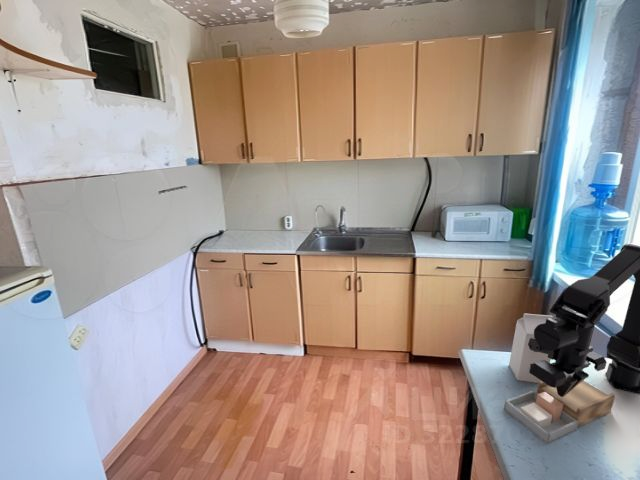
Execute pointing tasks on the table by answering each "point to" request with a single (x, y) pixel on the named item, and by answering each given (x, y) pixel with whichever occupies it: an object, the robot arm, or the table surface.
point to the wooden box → (581, 401)
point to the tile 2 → (550, 405)
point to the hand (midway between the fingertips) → (560, 395)
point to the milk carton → (526, 347)
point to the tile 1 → (537, 414)
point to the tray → (545, 433)
